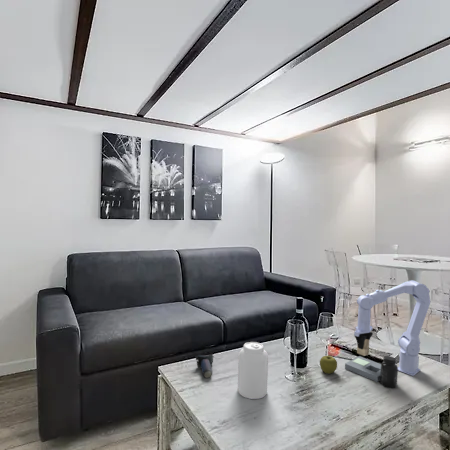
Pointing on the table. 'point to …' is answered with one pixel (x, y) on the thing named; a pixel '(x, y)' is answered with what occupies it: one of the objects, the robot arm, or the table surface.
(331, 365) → the apple
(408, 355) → the robot arm
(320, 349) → the table surface
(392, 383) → the supplement bottle
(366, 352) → the beech block
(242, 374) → the can
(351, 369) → the pocket board
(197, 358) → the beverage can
